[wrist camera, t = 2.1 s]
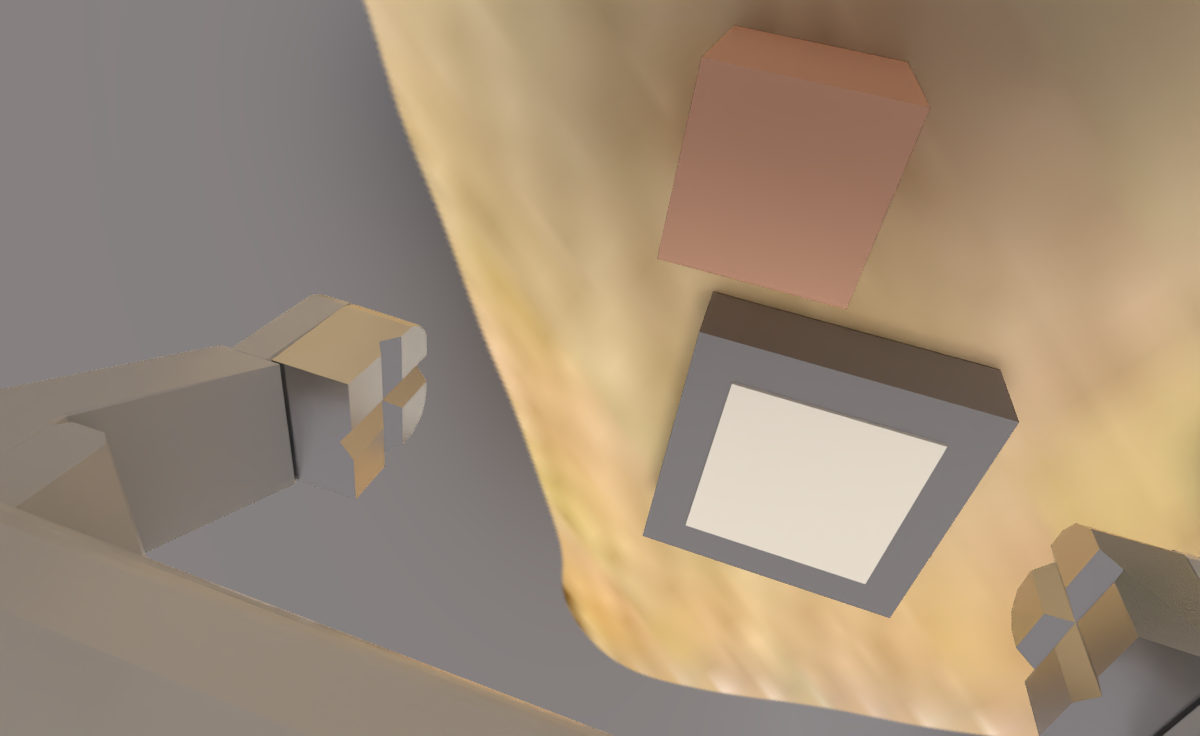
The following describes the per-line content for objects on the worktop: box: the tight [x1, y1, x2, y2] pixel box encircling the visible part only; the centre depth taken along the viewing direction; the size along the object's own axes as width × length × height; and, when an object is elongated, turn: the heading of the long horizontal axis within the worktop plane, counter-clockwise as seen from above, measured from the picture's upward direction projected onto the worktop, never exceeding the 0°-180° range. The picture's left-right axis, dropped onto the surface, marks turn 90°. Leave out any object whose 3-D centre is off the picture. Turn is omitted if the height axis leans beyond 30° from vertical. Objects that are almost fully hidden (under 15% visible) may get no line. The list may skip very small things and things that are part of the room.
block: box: [657, 25, 930, 309], centre depth 19 cm, size 5×5×6 cm
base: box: [643, 292, 1019, 618], centre depth 26 cm, size 10×10×3 cm
